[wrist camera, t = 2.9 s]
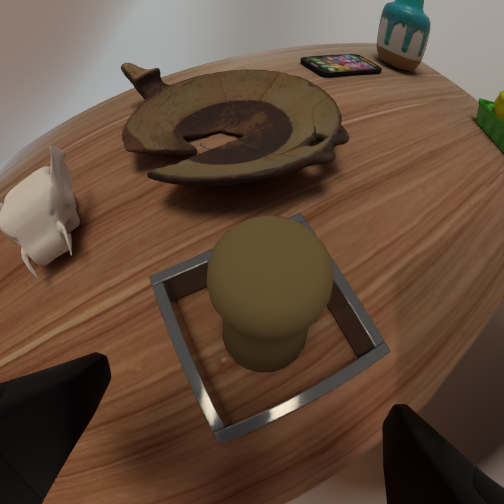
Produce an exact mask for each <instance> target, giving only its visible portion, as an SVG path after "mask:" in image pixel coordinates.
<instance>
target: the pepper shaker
mask: <svg viewBox="0 0 504 504" xmlns="http://www.w3.org/2000/svg"><path fill="white" fill-rule="evenodd" d="M333 282H334V275H333V268H332V262H331V257H330V255H329V253H328V251H327V249H326V248H325V246H324V244H323V242H322V241H321V240H320V239H319V238H318V237H317V236H316V235H315V234H314V233H313V232H312V231H311V230H310V229H309V228H308V227H306V226H304V225H302V224H301V223H299V222H297V221H295V220H293V219H289V218H285V217H281V216H259V217H255V218H251V219H248V220H245V221H243V222H241V223H240V224H238V225H236V226H235V227H233V228H231V229H230V230H229V231H227V232H226V233H225V235H224V236H223V237H222V238H221V239H220V240H219V241H218V242H217V243H216V245H215V247H214V250H213V252H212V254H211V256H210V259H209V262H208V270H207V288H208V291H209V295H210V298H211V301H212V304H213V306H214V308H215V309H216V310H217V312H218V313H219V315H220V316H221V317H222V319H223V340H224V343H225V346H226V350H227V351H228V352H229V354H230V355H231V356H232V358H233V359H234V360H235V361H236V362H237V363H239V364H240V365H242V366H243V367H245V368H247V369H250V370H253V371H257V372H273V371H276V370H279V369H282V368H285V367H286V366H288V365H289V364H290V363H292V362H293V361H294V360H295V359H296V358H297V357H298V355H299V354H300V352H301V351H302V349H303V348H304V344H305V340H306V336H307V330H308V327H309V326H310V325H311V324H313V323H314V322H315V321H316V320H317V319H318V318H319V317H320V315H321V313H322V312H323V310H324V309H325V307H326V305H327V304H328V302H329V300H330V297H331V292H332V287H333Z"/></svg>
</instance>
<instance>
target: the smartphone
mask: <svg viewBox="0 0 504 504" xmlns="http://www.w3.org/2000/svg"><path fill="white" fill-rule="evenodd" d="M301 63H302V64H303V65H305V66H306V67H308V68H310V69H311V70H313V71H315V72H316V73H318V74H319V75H322V76H326V77H328V76H338V75H349V74H363V73H379V72H381V71H382V68H381V67H379V66H377V65H376V64H374V63H372V62H371V61H369V60H367V59H365V58H364V57H362V56H360V55H356V54H345V55H324V56H312V57H303V58H301Z"/></svg>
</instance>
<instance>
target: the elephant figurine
mask: <svg viewBox="0 0 504 504" xmlns="http://www.w3.org/2000/svg"><path fill="white" fill-rule="evenodd" d="M50 152H51V167H49V166H46V167H42V168H40V169H39V170H37V171H36V172H35V171H34V172H33V174H31V175H30V176H28V177H27V178H26V179H24V180H23V181H22V182H20V183H19V184H18V185H17V186H15V187H14V188H13V189H12V190H11V191H10V192H9V193H8V194H7V195H6V197H5V200H4V204H3V203H0V230H1V231H2V233H3V234H4V235H5V236H6V237H7V238H8V239H10V240H11V241H12V242H13V243H14V244H18V245H20V246H21V247H22V248H21V255H22V256H21V257H22V259H23V261H24V262H25V264H26V265H27V267H28V269H29V270H30V271H31V272H32V273H33V274H34V276H35V277H36V278H37V276H36V273H35V272H34V270H33V268H32V267H31V265H30V263H29V261H28V257H30V258H31V259H32V260H33V261H34V262H35V263H36V264H38V265H47V264H49V263H50V262H51V261H52V260H54V259H55V258H57V257H58V256H60V255H61V254H63V253H65V252H67V251H69V250H70V253H71V255H72V252H71V248H72V239H71V233H70V232H71V231H72V230H74V229H75V228H76V227H78V226H79V224H80V219H79V216H78V214H77V211H76V207H77V205H76V202H75V197H74V195H73V193H72V191H71V188H72V177H71V173H70V170H69V168H68V167H67V165H66V164H65V161H64V159H65V155H66V152H64V151H62V150H60V149H58V148H57V147H55V146H50ZM67 233H68V234H67Z"/></svg>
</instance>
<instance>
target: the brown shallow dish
mask: <svg viewBox="0 0 504 504" xmlns="http://www.w3.org/2000/svg"><path fill="white" fill-rule="evenodd" d="M121 70H122V72H123V73H124V74H125V76H126V77H127V78H128V79H129V80H130V82H131V83H132V84H133V85H134V87H135V88H136V90H137V91H138V92H139V93H140V94H141V96H142V97H143V98H144V99H145V101H144V103H143V104H142V105H141V106H140V107H139V108H138V109H137V110H136V111H135V112H134V113H133V114H132V115H131V116H130V118H129V120H128V121H127V123H126V124H125V127H124V129H123V133H122V139H123V142H124V145H125V149H126V150H127V151H129V152H135V153H142V154H147V153H149V154H156V155H166V156H167V155H179V156H182V155H192V154H197V153H198V152H197V150H196V148H195V147H194V146H192V145H191V144H189V143H188V142H186V141H185V140H184V139H195V138H198V137H202V136H206V135H210V134H212V133H216V132H217V133H218V132H226V133H227V134H234V135H237V136H239V135H240V136H243V137H241V138H239V139H237V140H235V141H232V142H228V143H227V144H225V145H222V146H220V147H217V148H214V149H211V150H208V151H206V152H203V153H201V154H198V155H196V156H192V157H191V158H189V159H186V160H185V161H181V162H179V163H178V164H176V165H170V166H167V167H163V168H158V169H152V170H150V171H149V172H148V173H147V175H148V177H149V178H151V179H153V180H157V181H160V182H165V183H171V184H178V185H179V184H181V185H193V186H221V185H222V186H223V185H232V184H240V183H246V182H252V181H258V180H264V179H271V178H274V177H278V176H283V175H286V174H290V173H292V172H295V171H297V170H300V169H302V168H304V167H307V166H312V165H315V164H326V163H329V162H332V161H333V160H334V159H335V155H334V152H333V148H334V147H335V146H337V145H341V144H344V143H346V142H348V141H349V135H348V133H347V131H346V130H345V129H344V127H343V126H342V125H341V119H342V118H341V113H340V111H339V108H338V106H337V104H336V103H335V101H334V100H333V99H332V97H330V95H328V94H327V93H326V92H325V91H324V90H323V89H321V88H320V87H318V86H317V85H314V84H313V83H311V82H310V81H308V80H306V79H303V78H301V77H298V76H291V75H288V74H286V73H281V72H275V71H266V70H253V69H252V70H250V69H249V70H233V71H224V72H217V73H212V74H205V75H201V76H197V77H192V78H190V79H187V80H184V81H181V82H178V83H175V84H172V85H167V84H165V83H163V81H162V80H161V77H160V70H159V68H155V69H150V70H146V69H143V68H140V67H138V66H136V65H133V64H131V63H124V64H123V65H122V66H121ZM315 141H320V142H321V143H319V144H317V145H315V146H309V145H310V144H312V143H313V142H315ZM322 141H323V142H322ZM201 145H202V146H204V145H203V143H202V144H201ZM204 147H205V148H209V147H206V146H204Z"/></svg>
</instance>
